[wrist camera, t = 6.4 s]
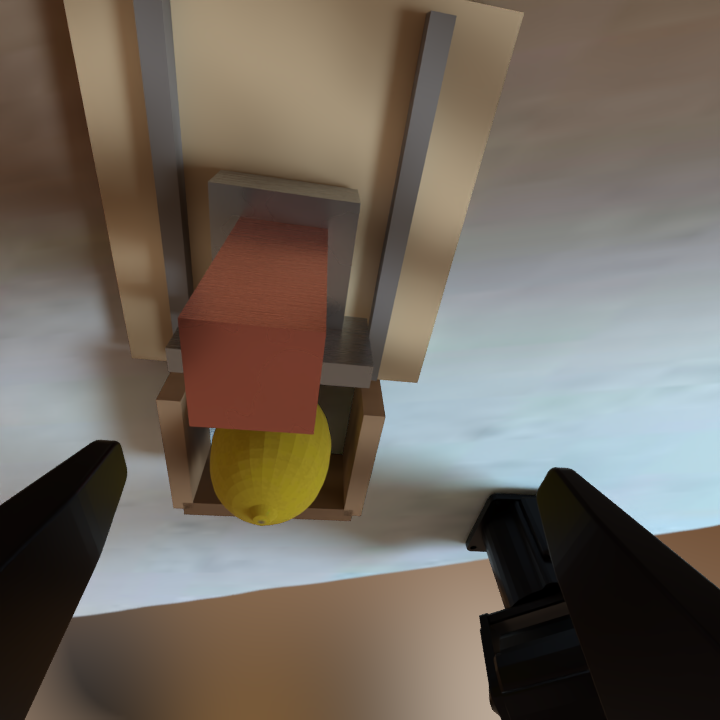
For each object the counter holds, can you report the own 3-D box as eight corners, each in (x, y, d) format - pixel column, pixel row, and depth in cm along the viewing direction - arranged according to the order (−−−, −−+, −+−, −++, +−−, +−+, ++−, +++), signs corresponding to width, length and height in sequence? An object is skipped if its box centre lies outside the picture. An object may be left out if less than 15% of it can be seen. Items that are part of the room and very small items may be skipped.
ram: (362, 328, 19) (381, 489, 12) (200, 312, 18) (111, 476, 11) (385, 193, 16) (434, 301, 8) (189, 165, 15) (51, 258, 8)
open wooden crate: (355, 466, 27) (359, 521, 24) (194, 456, 25) (174, 513, 22) (377, 365, 22) (385, 416, 19) (183, 348, 21) (155, 399, 18)
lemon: (210, 397, 23) (161, 528, 16) (271, 333, 21) (243, 454, 14) (289, 443, 25) (275, 574, 19) (351, 390, 23) (359, 516, 17)
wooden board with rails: (413, 369, 23) (420, 392, 21) (141, 344, 21) (125, 368, 19) (510, 16, 14) (534, 9, 13) (68, -78, 12) (28, -100, 11)
